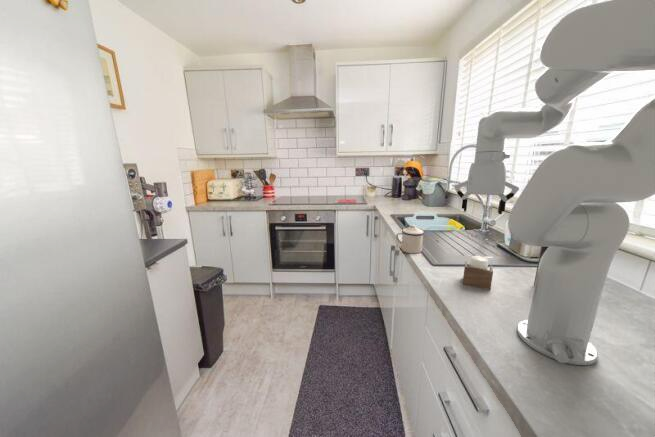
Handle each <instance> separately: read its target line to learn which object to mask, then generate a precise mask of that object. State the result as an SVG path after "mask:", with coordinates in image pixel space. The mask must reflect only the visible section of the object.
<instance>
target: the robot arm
mask: <svg viewBox="0 0 655 437" xmlns="http://www.w3.org/2000/svg"><path fill="white" fill-rule="evenodd" d="M539 60H540V63H541V64H542V66H544V67H545V68H546V69H544V70H543V71H542V72H541V73H540V74H539V75H538V77H537V78H536V80H535V83H534V92H535V95H536V96H537V98H538V99H539V100H540V102H542V103H543V104H542V105H541V106H539V107H537V108H511V109H510V108H507V109H499V110H495V111H494V112H492V113H490V115H487V116H484V117H482V118H480V120H479V122H478V129H477V137H476V144H475V145H476V146H475V153H474V160H473V161H474V162H472V163H470V164H471V165H470V167H469V170H468V177H467V180H465V181H463V182H461V183H460V182H459V183H458V184H455V185H454V189H455V191H456V194H457V195H458V197H460V199H461V200H462V202H461V209H463V212H464V213H466V212H467V207H468V197H470V195H482V196H498V197H499V198H500V200H499V201H498V202H499V203H498V210H497V213H498V215H502V213H503V212H505V210H506V204H507V202H508V201H509V200H511V199H512V198H513V197H514V196H515V195H516V194H517V192H518V191H519V190H520V187H519V186H517V185H515V184H512V183H510V182H508V181H506V178H507V167H506V166H507V165H506V162H504V161H505V160H506V159H510V157H511V154H510V153H506V152H505V149H506V143H507V139H532V138H537V137H539V136H542V135H544V134H546V133H548V132H549V131H551V130H553V129H554V128H556V127H557V126H559V125H560V124H561V123H563V122H564V121H565V120H566V119H567V118H568V116H569V115H570V113H571V111H572V109H573V108H574V104H575V100H576V98H578V97H579V96H581V95H582V94H583V93H585V92H586V91H588V90H589V89H591V88H592V87H593V86H595V85H597V84H598V83H600V82H601V81H603V80H605V78H607V77H608V76H610V75H611V74H612V73H632V72H633V73H634V72H635V73H640V72H641V73H642V72H655V0H606V1H602V2H597V3H594V4H590V5H585V6H581V7H578V8H576V9H574V10H572V11H571V12H570V11H569V13H567V14H566V15H564V16H563V17H562V18H561V19H560V20H559V21H558V22H556V23H555V24H554V26H553V27H552V28H551V29H550V31H549V32H547V35H546V36H545V37H544V40H543V42H542V44H541V47H540V50H539ZM462 187H466V192H465V193H463V192H462V191H461V188H462ZM506 188H508V189H511V191H510V192H509V193H507V194H506V195H504V193H505V189H506ZM654 195H655V94H654V95H653V96H651V97H650V98H649V99H647V101H645V102H644V103H643V104H642V105H640V106H639V107H638V108H637V109H636V110H635V111H634V112H633V114H632V115H631V116H630V118H628V120H627V122H626V123H625V124H624V125H623V127H622V128H621V129H620V130H619V131H618V132H617V133H615V135H614V136H613V137H612V138H610V139H609V140H606V141H604V142H583V143H574V144H568V145H565V146H563V147H560V148H558V149H556V150H554V151H552V152H551V153H550V154H549V155H547V157H545V158H544V159H543V160H542V161H541V163H539V165H538V167H536V169H535V171H534V172H533V174H532V175H531V177H530V179H529V180H528V182H527V183H526V185H525V187H524V189H523V190H522V192H521V193H520V195H519V196H518V197H517V200H516V201H515V202H514V204H513V206H512V208H511V210H510V213H509V215H508V218H507V219H508V220H507V228H508V232H509V234H510V236H511V237H512V238H513V239H514V240H515V241H516V242H518V243H519V244H522V245H525V246H529V247H530V246H531V247H540V248H541V247H548V248H547V250H546V251H545V252H544V254H543V256H542V257H541V260H540V263H539V267H538V271H537V270H536V271H537V276H536V275H535V276H536V281H535V280H534V281H535V286H534V285H533V286H534V287H533V291H532V297H531V302H530V307H529V312H528V319H525V320H521V321H520V322H518V324H517V327H516V332H517V334H518V336H519V337H520V339H521V340H522V341H523V342H524V343H525V344H527V345H528V346H529V347H530V348H532V349H533V350H535V351H537V352H539V353H540V354H542V355H544V356H546V357H549V358H551V359H554V360H556V361H557V362H558V363H561V364H570V365H574V366H590V365H593V364H595V363H596V362H597V360H598V358H599V354H598V351H597V349H596V347H595V346H594V345H593V344H592V343H591V342H590V339H591V336H592V331H593V327H594V324H595V320H596V316H597V313H598V308H599V306H600V301H601V298H602V295H603V290H604V287H605V285H606V284H605V283H606V280H607V277H608V273H609V270H610V267H611V264H612V262H613V259H614V257H615V255H616V254H617V252H618V250H619V248H620V247H621V245H622V243H623V242H624V240H625V238H626V237H627V234H628V233H629V228H630V217H629V215H628V212H626V210H625V209H624V207H622V205H620V204H619V203H632V202H639V201H644V200H646V199H648V198H651V197H652V196H654Z"/></svg>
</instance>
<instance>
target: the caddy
mask: <svg viewBox="0 0 655 437" xmlns="http://www.w3.org/2000/svg"><path fill="white" fill-rule="evenodd" d="M493 275H494V269H493V265H492V264H491V265H490V266H489V269H487V270H486V269H480V268H475V267H469V265H467V261H466V260H465V262H464V270H463V276H462V278H463V279H462V284H463V285H465V286H470V287H476V288H479V289H485V290H488V291H489V290H491V287H492V283H493V281H492V280H493Z"/></svg>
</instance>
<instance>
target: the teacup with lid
mask: <svg viewBox="0 0 655 437" xmlns="http://www.w3.org/2000/svg"><path fill="white" fill-rule="evenodd" d="M424 234H425V233H424V230H422V229H420V228H418V227H416V225H415V224H410V226H409V227H406V228H403V229H402V230H401V232H398V233H396V235H395V240H396V242H398V243H399V244H401V251H402V252H404V253H407V254H414V255H415V254H419V253H422V251H423V240H424V239H423V238H424ZM399 235H402V236H401V237H402V238H401V240H399Z"/></svg>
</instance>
